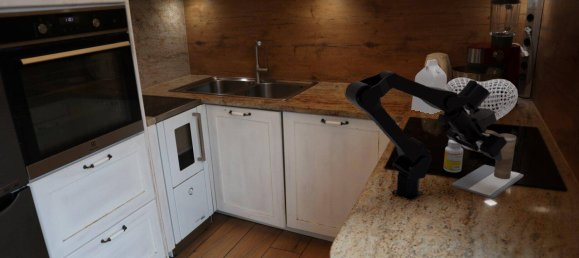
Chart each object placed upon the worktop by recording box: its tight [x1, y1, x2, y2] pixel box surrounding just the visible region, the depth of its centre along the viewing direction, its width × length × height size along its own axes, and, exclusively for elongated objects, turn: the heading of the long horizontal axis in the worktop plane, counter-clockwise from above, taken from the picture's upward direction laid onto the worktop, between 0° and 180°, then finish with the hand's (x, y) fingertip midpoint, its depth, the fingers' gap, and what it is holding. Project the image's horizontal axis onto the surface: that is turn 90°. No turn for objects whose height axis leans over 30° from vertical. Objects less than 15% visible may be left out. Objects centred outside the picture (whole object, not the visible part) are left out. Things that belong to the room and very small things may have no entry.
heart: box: [444, 77, 519, 129], centre depth 172 cm, size 28×16×22 cm, turn 68°
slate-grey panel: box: [451, 164, 524, 199], centre depth 126 cm, size 22×12×1 cm, turn 132°
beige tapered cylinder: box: [494, 133, 517, 179], centre depth 126 cm, size 5×5×13 cm
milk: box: [410, 59, 448, 114], centre depth 202 cm, size 12×12×26 cm
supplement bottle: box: [443, 139, 464, 173], centre depth 134 cm, size 5×5×10 cm
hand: (488, 154), depth 123 cm, fingers open, 9 cm apart
